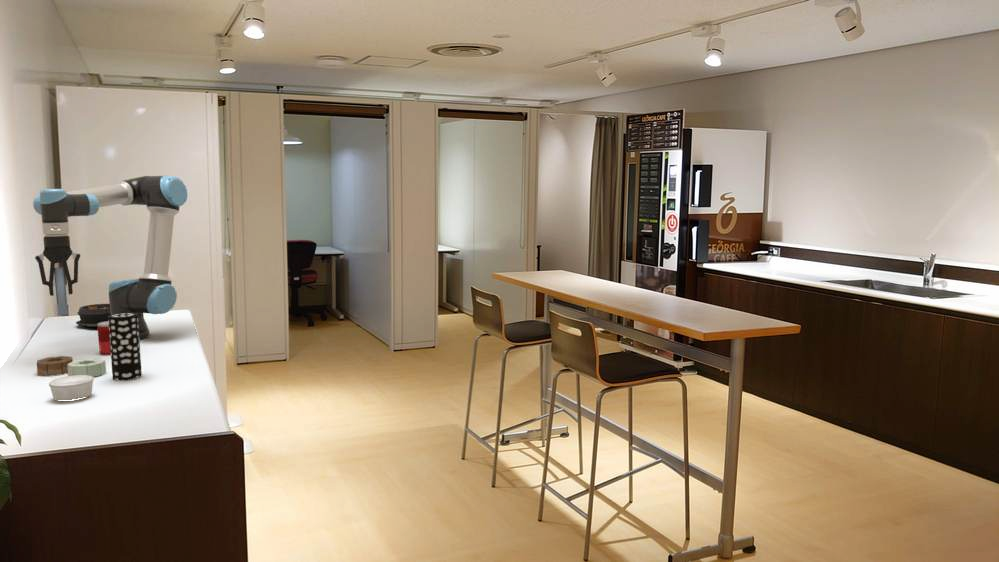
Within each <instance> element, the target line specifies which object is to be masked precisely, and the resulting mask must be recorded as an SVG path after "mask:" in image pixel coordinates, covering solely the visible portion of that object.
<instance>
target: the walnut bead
mask: <svg viewBox="0 0 999 562" xmlns="http://www.w3.org/2000/svg"><path fill="white" fill-rule="evenodd" d="M73 359H74V358H73V356H66V355H63V356H60V355H59V356H52V357H50V356H49V357H45V358H41V359H38V360H36V371H37V372H36V374H37V376H40V375H54V376H58V375H57V374H62V375H65V373H66V374H68V366H67V364H69V363H71V362H73V361H74V360H73Z"/></svg>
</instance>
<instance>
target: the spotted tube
mask: <svg viewBox="0 0 999 562" xmlns="http://www.w3.org/2000/svg"><path fill="white" fill-rule="evenodd" d="M108 322H109V336H110V350H111V355H110V363H111V375H112V379H113V380H114V381H118V380H124V381H129V380H128V379H132V380H134V379H133V378H137V379H139V378H141V377H142V376H143V374H142V373H143V372H142V359H141V345H140V343H141V341H140V339H139V327H138V314H137V313H119V314H112V315H109V316H108ZM141 375H142V376H141ZM140 376H141V377H140ZM138 377H139V378H138Z"/></svg>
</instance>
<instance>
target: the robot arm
mask: <svg viewBox="0 0 999 562" xmlns="http://www.w3.org/2000/svg"><path fill="white" fill-rule="evenodd" d="M187 199H188V189H187V187H186V185H185V184H184V182H183V181H182V179H181V178H179V177H177V176H173V175H142V176H139V177H133V178H129V179H124V180H119V181H117V182H116V183H115V184H109V185H104V186H103V185H102V186H97V187H96V186H95V187H89V188H83V189H75V190H69V191H66V190H65V189H64V188H44V189H43V188H42V189H41V190H40V192H39V194H38V195H36V196H35V198H34V199H33V201H32V205H33V209H34V211H35V212H36V213H37V214H38V215H40V216H41V223H42V224H41V226H42V227H41V228H42V234H43V235H44V236H43V247H44V249H43V252H42V253H40V254H39V255H38V254H37V255H35V257H34V259H35V261H36V262H37V263H38V268H39V273H40V278H41V282H42V283H41V284H42V285H43V286H47V287H48V291H49V296H52V297H53V303H54V306H56V307H57V296H56V286H55V284H54V281H55V275H54V268H56V264H58V263H59V264H62V267H64V271H65V280H66V282H67V284H66V298H67V306H68V305H70V304H71V303H70V302H71V301H70V295H73V293H74V291H73V285H74V284H78V282H79V280H78V279H79V260H80V258H81V254H80V253H77V252H73V250H72V248H71V242H70V241H71V240H70V239H71V238H70V235H69V233H70V229H69V228H70V227H69V218H71V217H89V216H95V215H96V214H97V213H98V211H99V210H100V208H104V207H109V206H110V207H111V206H115V205H122V206H129V205H130V206H131V205H132V206H133V205H134V206H135V205H136V206H137V205H138V206H146V210H147V211H149V213H150V215H149V224H148V231H147V233H148V234H147V240H146V241H147V242H146V252H145V259H144V260H145V261H144V267H143V268H144V270H143V273H142V275H140V276H139V277H138V278H133V279H132V278H131V279H125V280H124V279H123V280H118V281H113V282H110V283H109V284H108V299H109V301H108V302H109V303H108V304H110V314H111V315H112V314H119V313H137V314H138V327H139V340H142V339H141V338H143V339H146V337H147V338H148V336H149V337H150V329H149V327H148V325H147V322H146V320H145V318H144V314H150V315H162V314H163V315H164V314H167V313H168V312H169V311H171V310H172V309H173V308H174V307H175V304H176V302H177V297H178V296H177V290H176V289H175V286H173V285H172V281H173V280H172V279H171V278H170V277H169V269H170V258H171V251H172V249H171V248H172V240H173V229H174V222H175V216H176V215H177V214H178V213H179V212H180V207H182V206H184V205H185V203H186V202H187ZM71 256H72V259H73V260H74V261H73V279H72V278H71V274H70V270H69V266H68V262H67V261H68V260H69V258H70V257H71ZM45 259H47V260H48V262H50V266H49V267H50V268H49V276H48V277H49V278H48V280H47V276H46V272H45V266H44V263H43V262H44V260H45Z"/></svg>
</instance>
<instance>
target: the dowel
mask: <svg viewBox="0 0 999 562" xmlns="http://www.w3.org/2000/svg"><path fill="white" fill-rule="evenodd" d="M54 282H55V283H54V285H55V286H56V296H57V306H56V309H57V315H58V316H67V315H69V310H68V307H69V306H68V305H67V298H66V285H67V284H66V282H67V281H66V275H65V271H64V267H63V266H62V267H61V266H60V267H55V268H54Z"/></svg>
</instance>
